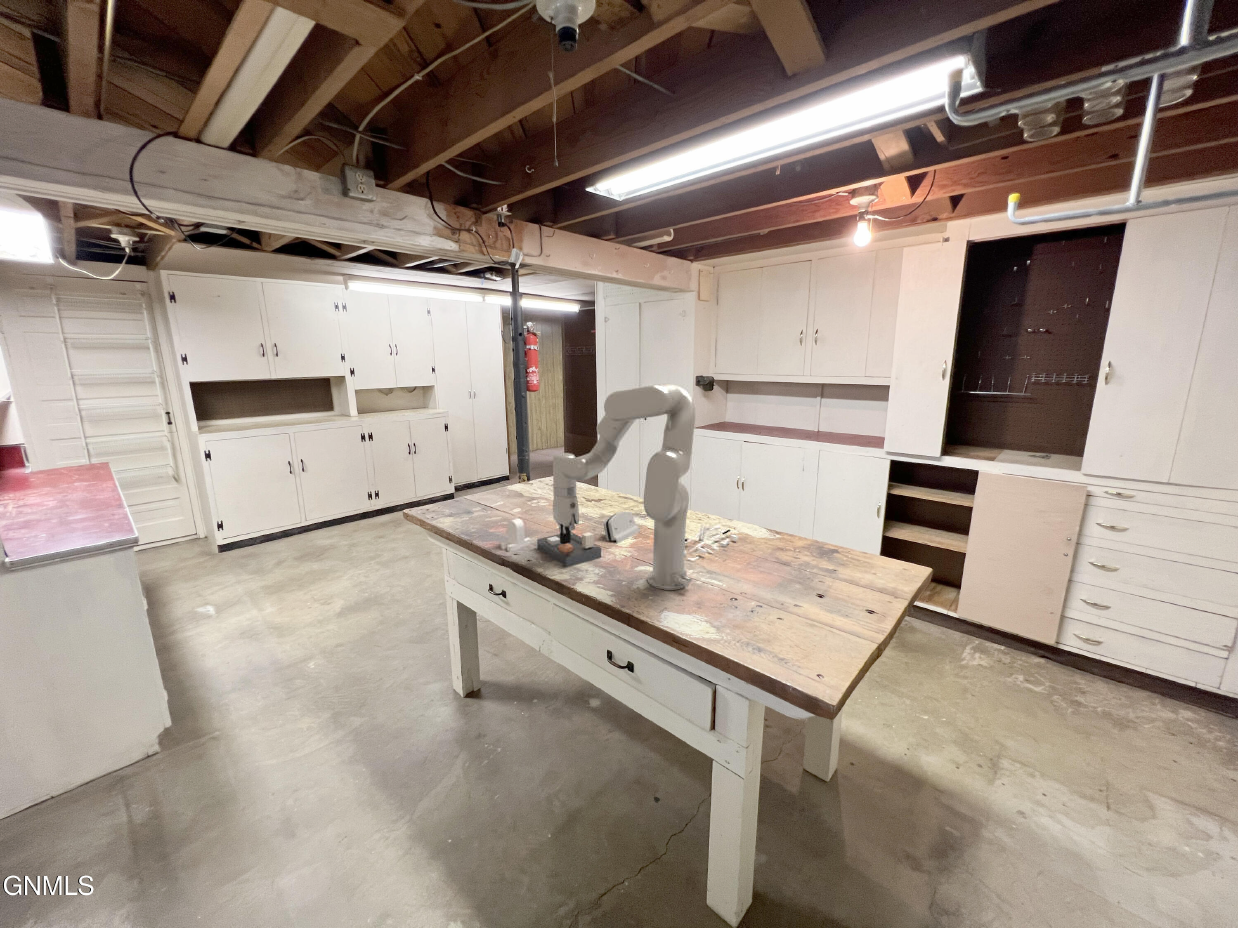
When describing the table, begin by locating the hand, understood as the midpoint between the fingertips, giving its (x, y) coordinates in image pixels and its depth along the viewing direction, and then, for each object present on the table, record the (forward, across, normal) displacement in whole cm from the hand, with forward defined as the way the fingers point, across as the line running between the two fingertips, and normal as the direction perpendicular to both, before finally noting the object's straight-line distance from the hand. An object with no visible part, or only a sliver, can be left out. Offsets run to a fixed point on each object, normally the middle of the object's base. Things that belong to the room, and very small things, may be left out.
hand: (565, 542), depth 161 cm
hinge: (+6, +7, -29) cm, 31 cm away
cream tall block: (+2, -3, -7) cm, 8 cm away
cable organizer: (+6, +21, +8) cm, 23 cm away
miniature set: (+6, -21, -46) cm, 51 cm away
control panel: (+6, +4, -4) cm, 8 cm away
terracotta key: (+4, 0, 0) cm, 4 cm away
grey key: (+4, +8, 0) cm, 9 cm away
